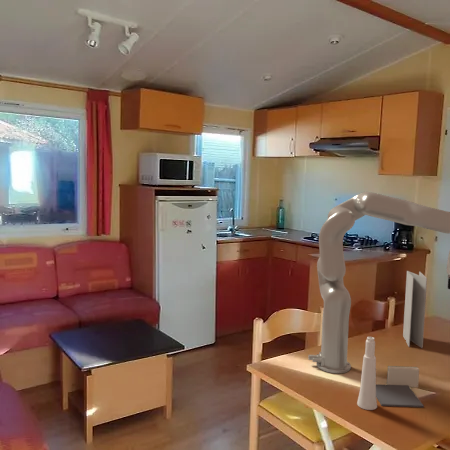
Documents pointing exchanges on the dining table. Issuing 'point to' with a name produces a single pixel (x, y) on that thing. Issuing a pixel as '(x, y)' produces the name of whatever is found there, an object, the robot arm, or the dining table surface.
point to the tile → (403, 376)
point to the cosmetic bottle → (368, 378)
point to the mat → (397, 396)
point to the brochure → (414, 308)
